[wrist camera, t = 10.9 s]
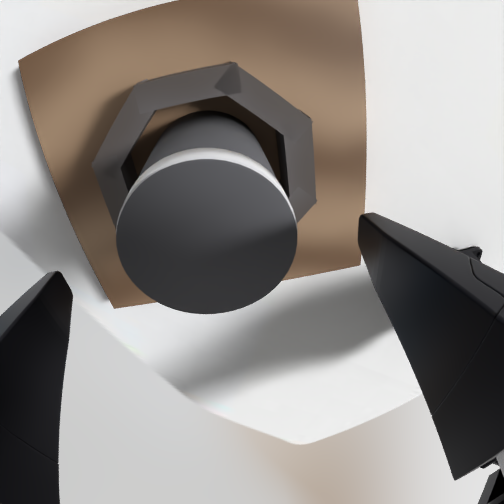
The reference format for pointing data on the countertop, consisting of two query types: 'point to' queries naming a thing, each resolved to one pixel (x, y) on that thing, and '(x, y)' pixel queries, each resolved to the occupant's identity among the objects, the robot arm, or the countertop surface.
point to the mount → (208, 98)
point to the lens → (206, 218)
